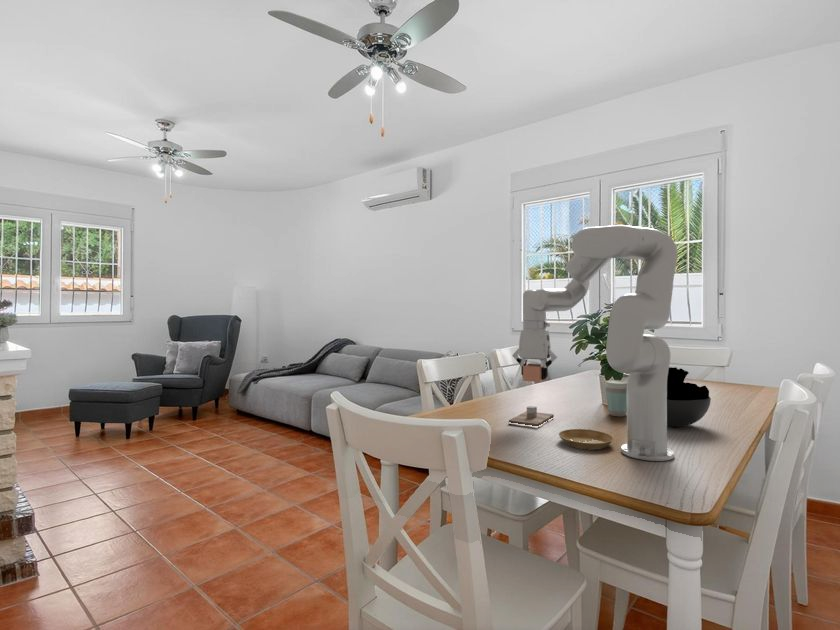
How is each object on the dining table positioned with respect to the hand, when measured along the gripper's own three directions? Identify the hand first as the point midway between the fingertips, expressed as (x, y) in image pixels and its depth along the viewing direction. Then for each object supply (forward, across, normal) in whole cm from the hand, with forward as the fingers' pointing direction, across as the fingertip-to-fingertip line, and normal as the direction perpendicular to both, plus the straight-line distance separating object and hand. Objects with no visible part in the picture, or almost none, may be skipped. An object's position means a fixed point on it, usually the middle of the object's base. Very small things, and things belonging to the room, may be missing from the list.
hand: (534, 377), depth 156 cm
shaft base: (+15, +1, 0) cm, 15 cm away
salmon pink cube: (+1, 0, 0) cm, 1 cm away
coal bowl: (+15, -41, -18) cm, 47 cm away
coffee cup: (+15, -22, -26) cm, 37 cm away
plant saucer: (+15, -21, +17) cm, 31 cm away
